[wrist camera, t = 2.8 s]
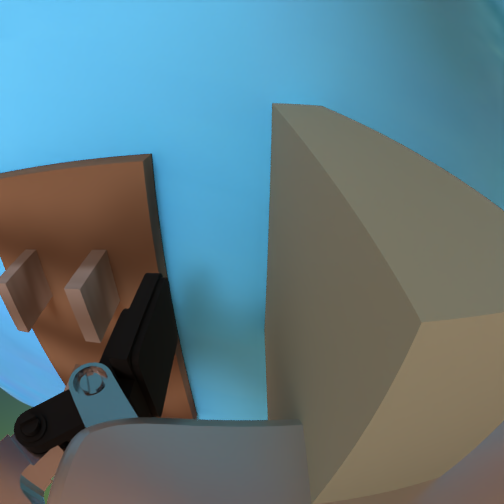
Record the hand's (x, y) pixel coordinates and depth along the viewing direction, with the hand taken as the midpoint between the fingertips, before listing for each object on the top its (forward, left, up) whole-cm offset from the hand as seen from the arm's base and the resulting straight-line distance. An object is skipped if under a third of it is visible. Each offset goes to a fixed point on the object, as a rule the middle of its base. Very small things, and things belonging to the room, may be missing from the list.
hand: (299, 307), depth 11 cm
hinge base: (+6, -11, -4) cm, 13 cm away
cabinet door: (0, 0, -4) cm, 4 cm away
